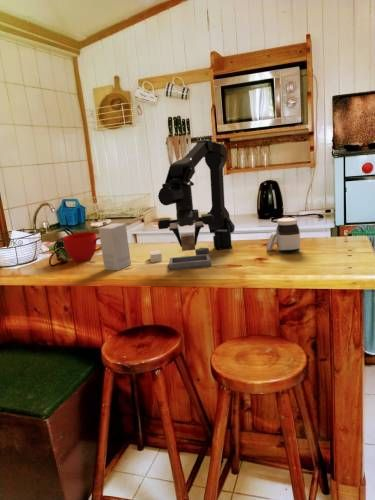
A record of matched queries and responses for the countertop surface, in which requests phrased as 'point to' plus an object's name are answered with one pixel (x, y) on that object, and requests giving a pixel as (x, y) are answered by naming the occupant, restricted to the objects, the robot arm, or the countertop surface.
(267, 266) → the countertop surface
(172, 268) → the charcoal tray
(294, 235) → the spread jar
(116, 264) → the skincare box
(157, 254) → the off-white plastic block
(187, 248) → the walnut block
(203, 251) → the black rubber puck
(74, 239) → the ceramic cup
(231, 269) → the countertop surface
